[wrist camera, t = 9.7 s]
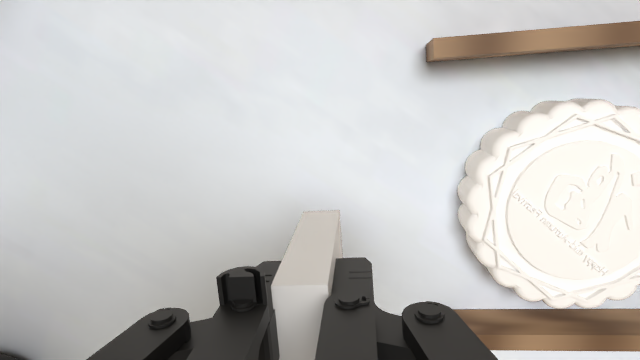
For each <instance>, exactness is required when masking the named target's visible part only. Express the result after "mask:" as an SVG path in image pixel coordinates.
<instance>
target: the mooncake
mask: <svg viewBox="0 0 640 360" xmlns="http://www.w3.org/2000/svg"><path fill="white" fill-rule="evenodd" d="M480 148H481V149H480V150H478V151H475V152H473V153H472V154H471V155H470V156H469V157H468V159H467V161H466V164H465V171H466V174H467V176H466V177H464V178H463V179H462V180H461V181H460V183H459V185H458V190H457V192H458V196H459V198H460V200H461V201H462V202H463V203H462V204H461V206H460V208H459V210H458V219H459V221H460V223H461V225H462V226H463V228H464V229H465V231H466V241H467V243H468V245H469V247H470V248H471V250H472V251H473V253H474V254H475V256H476V258H477V259H478V260H479V262H480V263H482V264H483V265H485V266H486V268H487V269H488V271H489V272H490V274H491V275H492V277H493V278H494V280H495V281H496V282H497V283H498V284H500V285H502V286H504V287H512V288H513V289H514V291H515V292H516V294H517V295H518V296H519V297H521V298H522V299H524V300H526V301H531V302H535V301H540V300H543V301H544V303H546V304H547V305H548V306H550V307H552V308H556V309H564V308H567V307H570V306H571V305H573V304H576V305H577V306H579V307H582V308H595V307H598V306H600V305H601V304H603V303H604V302H605V300H606V299H610V300H623V299H626V298H628V297H630V296H631V295H632V294H633V293H634V292H635V290H636V288H637V285H640V109H638V108H635V107H630V106H614V105H613V104H612V103H610V102H608V101H606V100H601V99H571V100H568V101H543V102H540V103H538V104H537V105H535V106H534V107H533V108H532V110H531V111H530V112H529V111H517V112H514V113H512V114H511V115H509V116H508V117H507V118H506V119H505V121H504V123H503V125H502V128H494V129H492V130H490V131H488V132H487V133H486V134H485V135H484V136H483V138H482V140H481V144H480Z"/></svg>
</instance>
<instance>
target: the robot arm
mask: <svg viewBox="0 0 640 360" xmlns="http://www.w3.org/2000/svg"><path fill="white" fill-rule="evenodd" d="M216 279H217V286H218V293H219V301H220V306H219V308H218V310H217V311H216V313H215V314H214V316H213V318H209V319H205V320H200V321H195V322H190V320H189V313H188V312H187V311H186V310H183V309H180V308H165V309H164V308H163V309H159V310H157V311H155V312H153V313H150V314H148V315H146V316H145V317H143V318H141V319H140V320H139V321H137V322H136V323H135V324H133V325H132V326H131V327H129V328H128V329H127V330H125V331H124V332H123V333H121V334H120V335H119V336H117V337H116V338H115V339H113V340H112V341H111V342H109V343H108V344H107V345H105V346H104V347H103V348H101V349H100V350H99V351H97V352H96V353H95V354H93V355H92V356H91V357H89V358H88V359H87V360H498V359H497V358H496V357H495V356H494V355H493V353H492V352H491V351H490V350H489V349H488V348H487V347H486V346H485V344H484V343H483V342H482V341H481V340H480V339H479V338H478V337H477V335H476V334H475V333H474V332H473V331H472V330H471V329H470V328H469V327H468V325H467V324H466V323H465V322H464V321H463V320H462V319H461V318H460V316H459V315H458V314H457V313H456V312H455V311H454V310H452V309H451V308H450V307H448V306H445V305H443V304H440V303H436V302H429V301H427V302H419V303H415V304H411V305H409V306H408V307H406V308H405V309H404V310H403V312H402V316H399V315H394V314H390V313H387V312H385V311H382V310H381V309H379V308H378V307H377V306H376V305H375V302H374V295H373V279H372V264H371V263H370V262H369V261H368V260H367V259H366V258H343V256H342V240H341V224H340V210H332V211H308V212H303V214H302V216H301V218H300V221H299V223H298V225H297V227H296V230H295V232H294V234H293V237H292V239H291V241H290V243H289V246H288V248H287V250H286V252H285V255H284V257H283V259H282V261H266V262H262V263H261V264H260V265H258V266H257V267H248V266H246V267H237V268H233V269H230V270H227V271H225V272H223V273H221V274H220V275H219V276H217V277H216Z"/></svg>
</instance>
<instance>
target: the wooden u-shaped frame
mask: <svg viewBox="0 0 640 360" xmlns="http://www.w3.org/2000/svg"><path fill="white" fill-rule="evenodd" d="M629 46H640V21H633V22H621V23H609V24H598V25H586V26H574V27H562V28H550V29H538V30H526V31H515V32H503V33H491V34H479V35H467V36H455V37H443V38H433V39H432V40H431V41H430V42H429V43H427V44H426V62H435V61H448V60H461V59H474V58H486V57H499V56H512V55H525V54H538V53H551V52H564V51H577V50H590V49H603V48H616V47H629ZM454 311H455V312H456V313H457V314H458V315H459V316H460V318H461V319H462V320H463V321H464V322H465V323H466V324H467V325H468V327H469V328H470V329H471V330H472V331H473V332H474V333H475V334H476V335H477V337H478V338H479V339H480V340H481V341H482V342H483V343H484V344H485V346H486V347H487V348H488V349H489V350H536V351H640V309H478V310H454Z"/></svg>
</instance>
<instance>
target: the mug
mask: <svg viewBox="0 0 640 360" xmlns="http://www.w3.org/2000/svg"><path fill="white" fill-rule="evenodd" d="M0 360H18V359H16V358H14V357H12V356H8V355H5V354H0Z"/></svg>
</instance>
